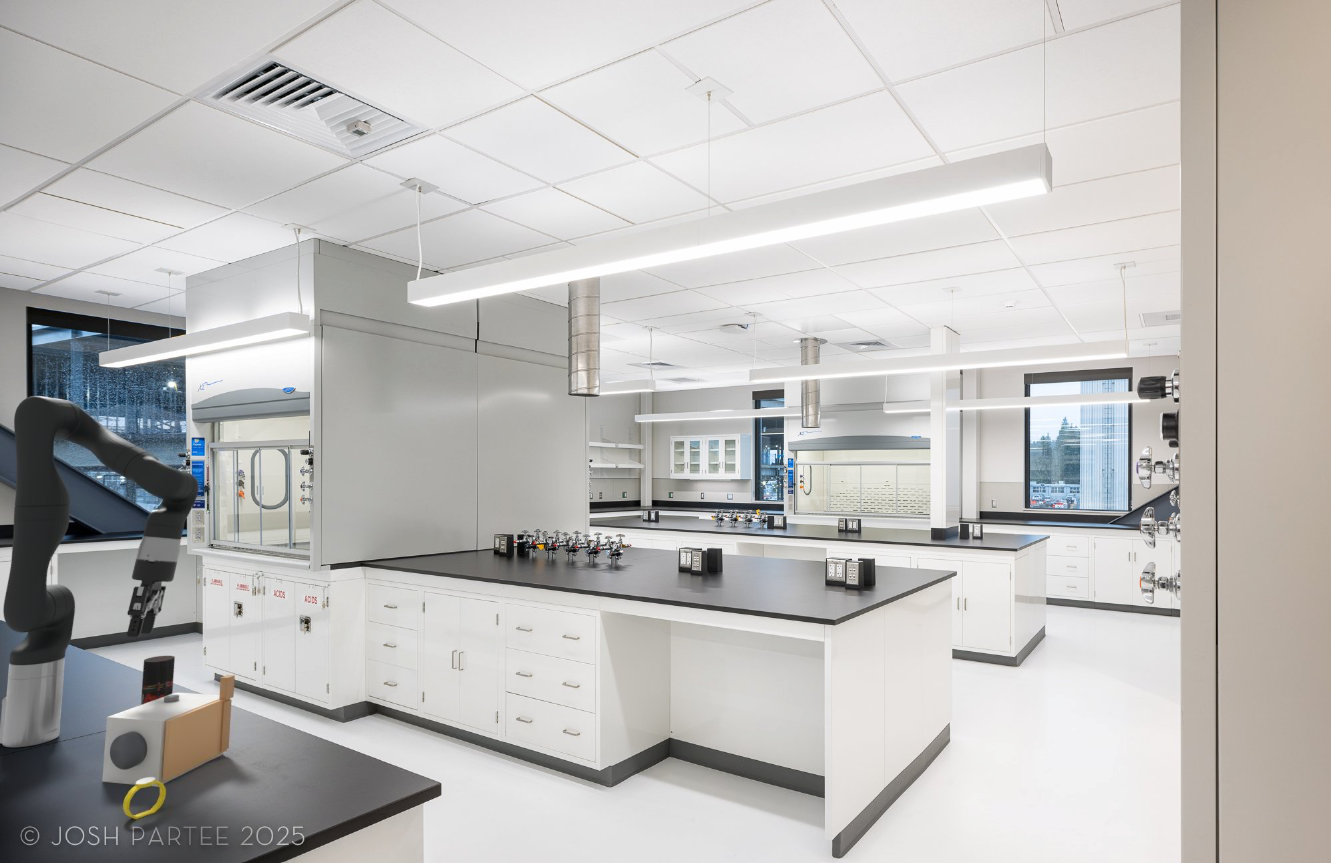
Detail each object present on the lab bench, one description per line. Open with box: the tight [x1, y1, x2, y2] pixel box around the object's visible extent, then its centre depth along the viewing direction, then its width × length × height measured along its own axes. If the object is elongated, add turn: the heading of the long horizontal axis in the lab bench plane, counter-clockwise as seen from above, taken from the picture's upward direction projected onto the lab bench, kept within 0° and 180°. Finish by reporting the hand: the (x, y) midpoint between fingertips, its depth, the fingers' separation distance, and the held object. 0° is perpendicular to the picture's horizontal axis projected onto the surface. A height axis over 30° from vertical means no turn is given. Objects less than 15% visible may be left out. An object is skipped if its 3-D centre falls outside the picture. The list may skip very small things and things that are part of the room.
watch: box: [122, 777, 167, 820], centre depth 121 cm, size 6×3×6 cm, turn 151°
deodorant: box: [140, 655, 176, 705], centre depth 165 cm, size 6×6×15 cm
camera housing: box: [102, 692, 224, 788], centre depth 140 cm, size 12×18×13 cm
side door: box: [162, 674, 236, 781], centre depth 140 cm, size 2×15×16 cm, turn 172°
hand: (139, 634), depth 151 cm, fingers open, 8 cm apart
